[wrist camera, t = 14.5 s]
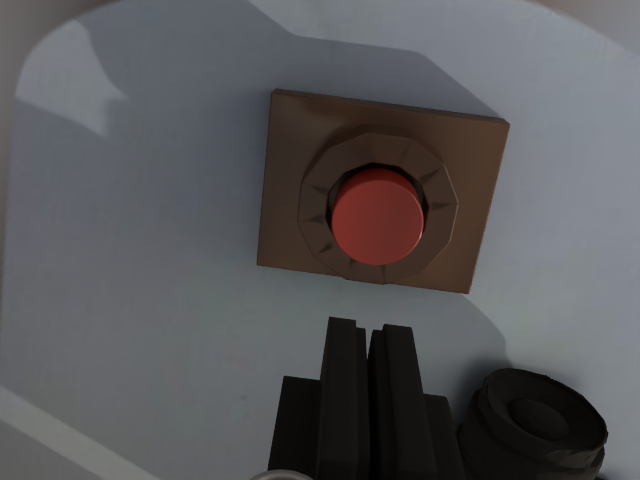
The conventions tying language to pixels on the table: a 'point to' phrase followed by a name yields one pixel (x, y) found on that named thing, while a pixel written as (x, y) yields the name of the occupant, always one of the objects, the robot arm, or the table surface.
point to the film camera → (530, 430)
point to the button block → (386, 153)
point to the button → (377, 217)
